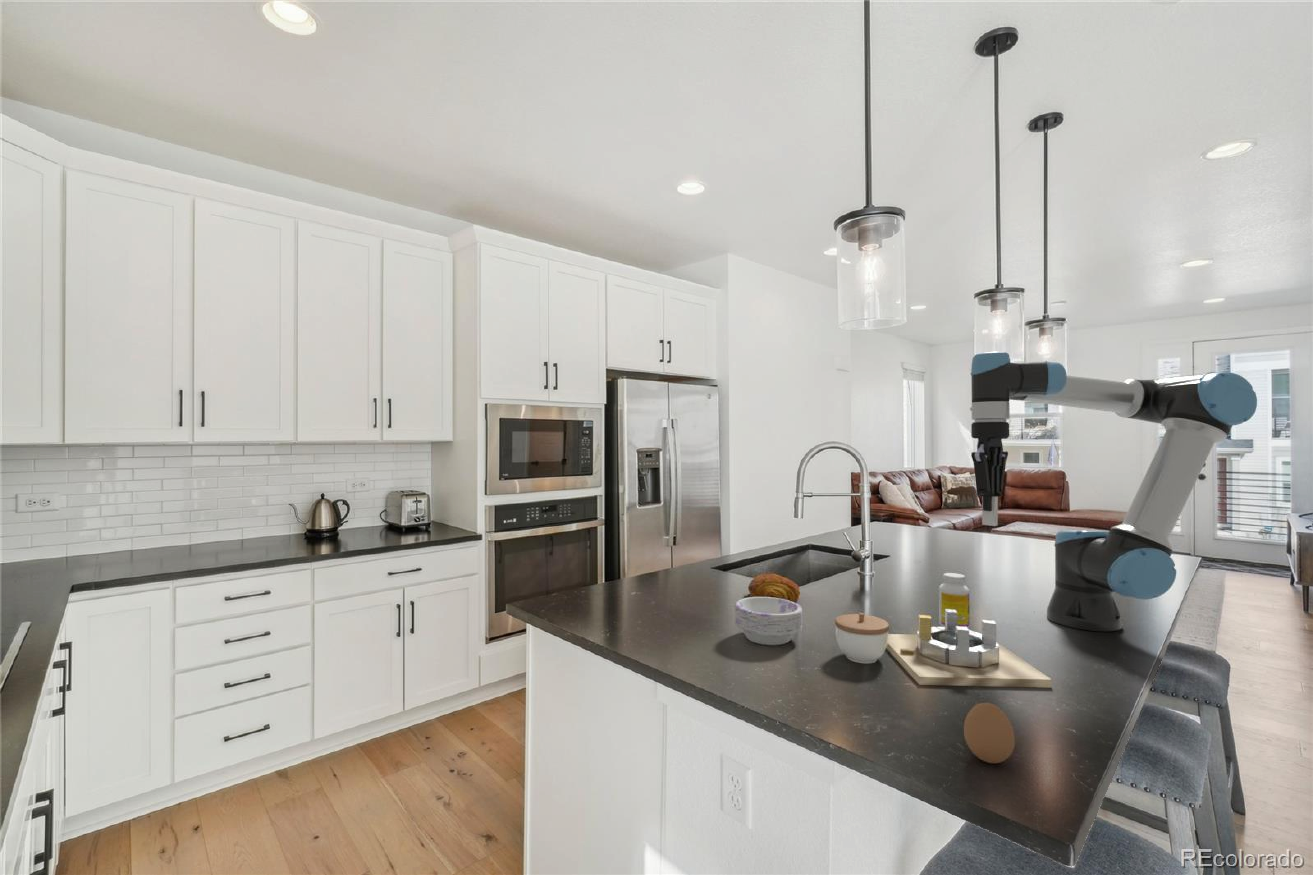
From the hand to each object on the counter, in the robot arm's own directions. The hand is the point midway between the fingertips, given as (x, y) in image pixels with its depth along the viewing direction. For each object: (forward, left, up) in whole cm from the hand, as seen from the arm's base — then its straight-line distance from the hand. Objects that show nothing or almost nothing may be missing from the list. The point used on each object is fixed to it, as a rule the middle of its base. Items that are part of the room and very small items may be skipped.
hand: (989, 525), depth 135 cm
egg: (+25, +51, -27) cm, 63 cm away
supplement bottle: (+4, -9, -27) cm, 28 cm away
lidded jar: (+32, +12, -27) cm, 43 cm away
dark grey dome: (+13, +13, -25) cm, 31 cm away
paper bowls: (+50, +1, -27) cm, 57 cm away
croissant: (+44, -32, -27) cm, 61 cm away
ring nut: (+13, +13, -25) cm, 31 cm away
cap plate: (+13, +13, -26) cm, 32 cm away
